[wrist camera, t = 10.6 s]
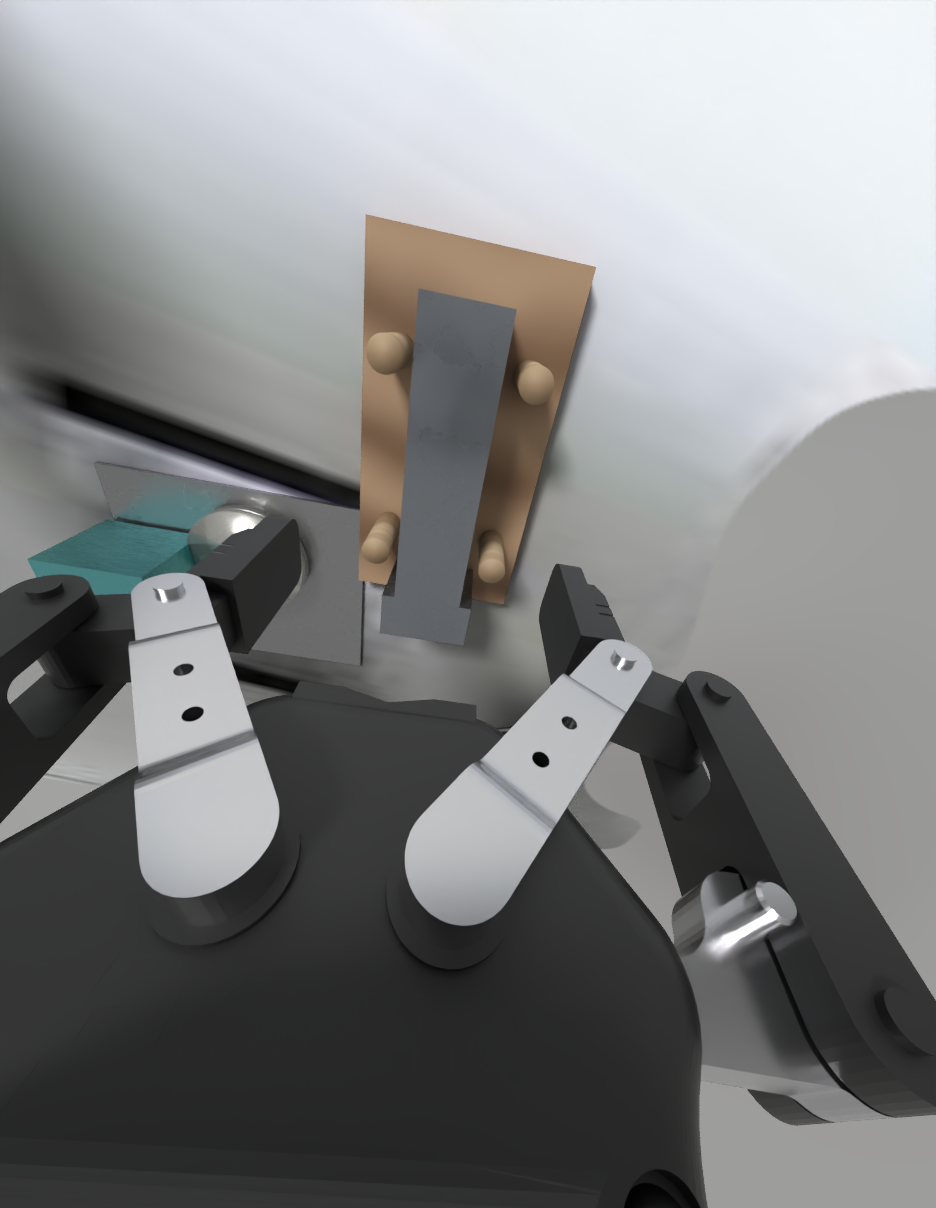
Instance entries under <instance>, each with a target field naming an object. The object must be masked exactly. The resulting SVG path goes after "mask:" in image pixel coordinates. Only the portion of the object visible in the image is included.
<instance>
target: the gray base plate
mask: <svg viewBox="0 0 936 1208" xmlns="http://www.w3.org/2000/svg"><path fill="white" fill-rule="evenodd" d="M94 465H95V468H96V470H97V473H98V476H99V479H100V482H101V484H102V487H103V490H104V493H105V496H106V499H107V501H108V504H109V507H110V510H111V513H112V515H113V518H114V521H118V522H124V523H130V524H136V525H142V526H147V527H153V528H159V529H165V530H171V531H177V532H183V533H189V531H190V530H191V528H192V526H193V525H194V524H195V523H196V522H197V521H198V520H200V519H201V518H203V517H204V516H206V515H207V514H209V513H210V512H212V511H213V510H215V509H217V508H220V507H223V506H227V505H246V506H251V507H255V508H258V509H261V510H263V511H265V512H267V513H270V514H271V515H273V516H278V517H284V518H290V519H295V520H296V521H297V524H298V528H299V540H300V542H301V544H302V545H303V547H304V550H305V552H306V555H307V558H308V565H309V570H308V577H307V579H306V582H305V584H304V585H303V587H302V588H301V590H300V591H299V593H298V594H297V595H296V597H295V598H294V599H293V600H292V601H291V602H290V603H288V604H287V605H285V606H283V607H281V608H280V609H279V611H278V612H277V613H276V615H275V616H274V618H273V619H272V620H271V622H270V623H269V625H268V626H267V627H266V629H265V630H264V632H263V633H262V634H261V636H260V637H259V639H258V640H257V641H256V643H255V644H254V646H253V647H252V648H251V649H252V650H259V651H265V652H272V653H279V654H285V655H292V656H298V657H305V658H312V659H318V660H325V661H331V662H338V663H345V664H351V665H358V666H360V665H361V646H362V610H363V581H360V580H359V533H360V508H354V507H349V506H343V505H337V504H332V503H326V502H321V501H315V500H309V499H304V498H298V497H293V496H287V495H281V494H276V493H270V492H265V491H259V490H253V489H248V488H242V487H237V486H231V485H225V484H220V483H214V482H209V481H203V480H197V479H192V478H186V477H181V476H175V475H169V474H164V473H158V472H153V471H147V470H141V469H136V468H130V467H125V466H119V465H113V464H108V463H102V462H95V463H94Z"/></svg>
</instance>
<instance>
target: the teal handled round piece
mask: <svg viewBox="0 0 936 1208" xmlns="http://www.w3.org/2000/svg"><path fill="white" fill-rule="evenodd" d="M268 515H271V514H270V513H267V512H265V511H263V510H261V509H258V508H255V507H251V506H246V505H227V506H223V507H220V508H217V509H215V510H213V511H212V512H210V513H209V514H207V515H206V516H204V517H203V518H201V519H200V520H198V521H197V522H196V523H195V524H194V525H193V526H192V528H191V530H190V531H189V533H183V532H177V531H171V530H165V529H159V528H153V527H147V526H142V525H136V524H130V523H124V522H118V521H112V520H105V521H103V522H101V523H99V524H97V525H95V526H93V527H91V528H89V529H87V530H85V531H83V532H81V533H79V534H77V535H75V536H73V537H71V538H69V539H67V540H65V541H63V542H61V543H59V544H57V545H55V546H53V547H51V548H49V549H47V550H45V551H43V552H41V553H39V554H37V555H35V556H33V557H31V558H29V559H27V560H28V562H29V564H30V565H31V567H32V569H33V571H34V573H35V575H36V577H42V576H48V575H58V574H66V575H75V576H80V577H82V578H84V579H86V580H87V581H88V582H89V584H90V586H91V588H92V591H93V593H94V595H107V594H131V592H132V590H133V589H134V587H135V586H136V585H138V584H139V583H141V582H142V581H144V580H146V579H148V578H151V577H154V576H158V575H162V574H168V573H186V572H188V571H189V570H190V569H191V568H192V567H194V566H195V565H196V564H197V563H198V562H200V561H201V560H202V559H203V558H204V557H206V556H207V555H208V554H209V553H210V552H212V553H213V550H214V549H215V548H216V547H218V546H219V545H221V543H222V542H223V541H225V540H226V539H227V538H228V537H229V536H231V535H232V534H234V533H237V532H239V531H242V530H244V529H247V528H251V529H252V528H254V527H255V526H256V525H257V524H258V523H259V522H260V521H261V520H263V519H264V518H265V517H266V516H268ZM272 516H273V515H272ZM300 551H301V563H302V570H301V576H300V579H299V582H298V584H297V585H296V587H295V588H294V590H293V591H292V592H291V594H290V595H289V597H288V598H287V599H286V601H285V602H284V604H283V605H282V606H281V607H283V606H285V605H287V604H288V603H290V602H291V601H292V600H293V599H294V598H295V597H296V595H297V594H298V593H299V591H300V590H301V588H302V587H303V585H304V584H305V582H306V579H307V577H308V570H309V565H308V558H307V555H306V552H305V550H304V547H303V545H302V544H301V542H300Z"/></svg>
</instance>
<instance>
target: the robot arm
mask: <svg viewBox="0 0 936 1208" xmlns="http://www.w3.org/2000/svg"><path fill="white" fill-rule="evenodd" d="M301 570H302V563H301V551H300V540H299V528H298V524H297V521H296V520H295V519H290V518H284V517H278V516H272V515H268V516H266V517H265V518H264V519H263V520H261V521H260V522H259V523H258V524H257V525H256V526H255V527H254V528H252V529H251V528H247V529H244V530H242V531H239V532H237V533H234V534H232V535H231V536H229V537H228V538H227V539H226V540H225V541H223V542H222V543H221V545H219V546H218V547H216V548H215V549H214V550H213V553H212V552H210V553H209V554H208V555H207V556H206V557H204V558H203V559H202V560H201V561H200V562H198V563H197V564H196V565H195V566H194V567H192V568H191V569H190V570H189V571H188V572H186V573H168V574H162V575H158V576H154V577H151V578H148V579H146V580H144V581H142V582H141V583H139V584H138V585H136V586H135V587H134V589H133V590H132V592H131V594H107V595H94V593H93V591H92V588H91V586H90V584H89V582H88V581H87V580H86V579H84V578H82V577H80V576H75V575H66V574H58V575H48V576H42V577H37V578H33V579H29V580H26V581H23V582H21V583H18V584H16V585H14V586H12V587H10V588H9V589H7V590H5V591H4V592H2V593H0V823H1V822H2V821H3V820H4V819H5V818H6V817H7V816H8V815H9V813H10V812H11V811H12V810H13V809H14V808H15V807H16V806H17V804H18V803H19V802H20V801H21V800H22V799H23V797H25V795H26V794H27V793H28V792H29V791H30V790H31V789H32V788H33V787H34V786H35V784H36V783H37V782H38V781H39V780H40V779H41V778H42V777H43V775H44V774H45V773H46V772H47V771H48V770H49V769H50V768H51V767H52V765H53V764H54V763H55V762H56V761H57V760H58V759H59V758H60V757H61V755H62V754H63V753H64V752H65V751H66V750H67V749H68V748H69V746H70V745H71V744H72V743H73V742H74V741H75V740H76V739H77V738H78V736H79V735H80V734H81V733H82V732H83V731H84V730H85V729H86V728H87V726H88V725H89V724H90V723H91V722H92V721H93V720H94V719H95V718H96V716H97V715H98V714H99V713H100V712H101V711H102V710H103V709H104V707H105V706H106V705H107V704H108V703H109V702H110V701H111V700H112V699H113V697H114V696H115V695H116V694H117V693H118V692H119V691H120V690H121V689H122V687H123V686H124V685H125V684H126V683H128V682H131V684H132V696H133V708H134V720H135V732H136V744H137V756H138V766H137V767H135V768H133V769H131V770H129V771H128V772H126V773H124V774H122V775H120V776H119V777H117V778H115V779H113V780H111V781H110V782H108V783H106V784H104V785H102V786H101V787H99V788H97V789H95V790H94V791H92V792H90V793H88V794H86V795H84V796H83V797H81V798H79V799H77V800H75V801H74V802H72V803H70V804H68V805H67V806H65V807H63V808H61V809H59V810H58V811H56V812H54V813H52V814H50V815H49V816H47V817H45V818H43V819H41V820H40V821H38V822H36V823H34V824H32V825H31V826H29V827H27V828H25V829H24V830H22V831H20V832H18V833H16V834H14V835H13V836H11V837H9V838H7V839H5V840H4V841H2V842H0V1208H708V1207H707V1201H706V1193H705V1185H704V1177H703V1169H702V1161H701V1146H700V1131H699V1095H700V1082H701V1081H705V1082H711V1083H717V1084H722V1085H729V1086H734V1087H740V1088H746V1089H748V1091H749V1092H750V1093H751V1095H752V1096H753V1097H754V1098H755V1100H756V1101H757V1102H758V1103H759V1104H760V1105H761V1106H762V1107H763V1108H764V1109H765V1110H766V1111H767V1112H769V1113H770V1114H771V1115H772V1116H774V1117H775V1118H777V1119H779V1120H780V1121H782V1122H785V1123H787V1124H791V1125H809V1124H822V1123H834V1122H848V1121H861V1120H873V1119H886V1118H897V1117H912V1116H924V1115H936V1001H935V999H934V997H933V996H932V994H931V993H930V991H929V989H928V988H927V986H926V985H925V983H924V981H923V980H922V978H921V977H920V975H919V973H918V972H917V970H916V969H915V967H914V966H913V964H912V962H911V961H910V959H909V958H908V956H907V954H906V953H905V951H904V950H903V948H902V946H901V945H900V943H899V942H898V940H897V939H896V937H895V935H894V934H893V932H892V931H891V929H890V927H889V926H888V924H887V923H886V921H885V919H884V918H883V916H882V915H881V913H880V912H879V910H878V909H877V907H876V906H875V904H874V902H873V901H872V899H871V897H870V896H869V894H868V892H867V891H866V889H865V888H864V886H863V885H862V883H861V881H860V880H859V878H858V877H857V875H856V873H855V872H854V870H853V869H852V867H851V865H850V864H849V862H848V861H847V859H846V858H845V856H844V854H843V853H842V851H841V850H840V848H839V847H838V845H837V843H836V842H835V840H834V839H833V837H832V835H831V834H830V832H829V831H828V829H827V827H826V826H825V824H824V823H823V821H822V820H821V818H820V816H819V815H818V813H817V811H815V808H814V807H813V805H812V804H811V802H810V800H809V799H808V797H807V796H806V794H805V792H804V791H803V789H802V788H801V786H800V785H799V783H798V781H797V780H796V778H795V777H794V775H793V774H792V772H791V770H790V769H789V767H788V765H787V764H786V762H785V761H784V759H783V758H782V756H781V754H780V753H779V751H778V750H777V748H776V746H775V745H774V743H773V742H772V740H771V738H770V737H769V735H768V734H767V732H766V731H765V729H764V727H763V726H762V724H761V723H760V721H759V719H758V718H757V716H756V715H755V713H754V711H753V710H752V708H751V707H750V705H749V703H748V702H747V701H746V699H745V697H744V696H743V695H742V693H741V692H740V691H739V690H738V689H737V688H736V687H735V686H733V685H732V684H731V683H729V682H728V681H726V680H725V679H723V678H721V677H719V676H717V675H714V674H712V673H708V672H703V671H695V672H691V673H690V674H688V676H687V677H686V679H685V680H684V682H680V681H677V680H675V679H672V678H669V677H667V676H664V675H661V674H659V673H656V672H654V671H652V664H651V662H650V660H649V659H648V657H647V656H646V655H645V654H644V653H643V652H642V651H641V650H639V649H638V648H636V647H635V646H633V645H631V644H629V643H626V642H625V641H624V638H623V636H622V634H621V632H620V629H619V627H618V625H617V623H616V620H615V618H614V617H613V614H612V611H611V609H610V608H609V605H608V602H607V600H606V598H605V596H604V595H603V594H602V593H601V592H600V591H599V590H598V589H597V588H596V587H595V586H594V585H589V584H587V582H586V579H585V577H584V574H583V572H582V569H581V568H580V567H574V566H568V565H562V564H556V565H555V567H554V569H553V571H552V574H551V577H550V580H549V583H548V586H547V589H546V592H545V595H544V598H543V601H542V604H541V607H540V614H539V623H540V629H541V634H542V640H543V645H544V650H545V656H546V661H547V667H548V672H549V677H550V683H551V686H550V687H549V689H548V690H547V691H546V692H545V693H544V694H543V695H542V696H541V697H540V698H539V699H538V700H537V701H536V702H535V703H534V704H533V706H532V707H531V708H530V709H529V710H528V711H527V712H526V713H525V714H524V715H523V716H522V717H521V718H520V719H519V720H518V721H517V723H516V724H515V725H514V726H513V727H512V728H511V729H510V730H509V731H508V732H507V733H506V734H505V735H504V734H503V733H502V732H501V731H499V730H497V729H496V728H494V727H493V726H491V725H489V724H487V723H485V722H483V721H480V720H478V719H476V705H470V704H463V703H456V702H449V701H442V700H434V699H433V700H419V701H404V702H384V701H381V700H378V699H376V698H373V697H370V696H368V695H365V694H362V693H359V692H357V691H354V690H351V689H348V688H346V687H341V686H334V685H326V684H319V683H312V682H305V681H300V682H299V684H298V686H297V687H296V689H295V691H294V693H293V694H290V695H282V696H276V697H272V698H268V699H264V700H261V701H258V702H255V703H252V704H250V705H248V706H246V704H245V701H244V698H243V695H242V692H241V689H240V686H239V683H238V680H237V677H236V674H235V671H234V668H233V665H232V661H231V658H230V655H229V652H235V653H242V654H248V653H249V651H250V650H251V648H252V647H253V646H254V644H255V643H256V641H257V640H258V639H259V637H260V636H261V634H262V633H263V632H264V630H265V629H266V627H267V626H268V625H269V623H270V622H271V620H272V619H273V618H274V616H275V615H276V613H277V612H278V611H279V609H280V608H281V606H282V605H283V604H284V602H285V601H286V599H287V598H288V597H289V595H290V594H291V592H292V591H293V590H294V588H295V587H296V585H297V584H298V582H299V579H300V576H301ZM36 660H38V662H39V663H40V665H41V666H42V668H43V670H44V671H45V674H44V675H43V676H42V677H41V678H40V679H38V680H37V681H36V682H35V683H34V684H33V685H32V686H30V687H29V688H28V689H27V690H26V691H25V692H24V693H22V694H21V695H20V696H19V697H18V698H17V699H15V700H14V701H13V702H12V703H11V704H9V702H8V700H7V692H8V688H9V686H10V684H11V682H12V681H13V680H14V679H15V678H16V677H17V676H18V675H19V674H20V673H21V672H23V671H24V670H25V669H26V668H27V667H29V666H30V665H31V664H32V663H34V662H35V661H36ZM609 741H611V742H613V743H616V744H618V745H621V746H623V747H625V748H628V749H630V750H633V751H635V752H637V753H640V757H641V761H642V764H643V767H644V771H645V774H646V778H647V781H648V784H649V788H650V791H651V794H652V798H653V801H654V804H655V808H656V811H657V814H658V818H659V821H660V824H661V828H662V831H663V834H664V838H665V841H666V845H667V848H668V851H669V855H670V858H671V861H672V865H673V868H674V871H675V875H676V878H677V881H678V885H679V888H680V891H681V895H682V897H681V898H680V899H679V900H678V901H677V902H676V904H675V905H674V908H673V912H672V928H673V934H674V944H673V943H672V941H671V939H670V938H669V936H668V935H667V933H666V931H665V930H664V929H663V927H662V926H661V924H660V923H659V922H658V920H657V919H656V918H655V916H654V915H653V914H652V913H651V912H650V910H649V909H648V908H647V907H646V905H645V904H644V903H643V901H642V900H641V899H640V898H639V897H638V895H637V894H636V893H635V892H634V891H633V889H632V888H631V887H630V885H629V884H628V883H627V882H626V880H625V879H624V878H623V877H622V875H621V874H620V873H619V872H618V870H617V869H616V868H615V867H614V865H613V864H612V863H611V862H610V861H609V859H608V858H607V857H606V856H605V854H604V853H603V852H602V851H601V849H600V848H599V847H598V846H597V844H596V843H595V842H594V841H593V839H592V838H591V837H590V836H589V834H588V833H587V832H586V831H585V829H584V828H583V827H582V826H581V825H580V823H579V822H578V821H577V820H576V818H575V817H574V816H573V815H572V813H571V812H570V811H569V810H568V807H569V805H570V804H571V802H572V800H573V799H574V797H575V795H576V794H577V792H578V791H579V789H580V787H581V786H582V784H583V783H584V781H585V779H586V778H587V776H588V775H589V773H590V771H591V770H592V768H593V766H594V765H595V763H596V762H597V760H598V758H599V757H600V755H601V754H602V752H603V750H604V749H605V747H606V746H607V744H608V742H609ZM703 761H705V763H706V766H707V768H708V770H709V773H710V780H709V778H708V776H707V773H706V771H705V769H704V767H703V764H702V762H703ZM710 781H711V783H710Z"/></svg>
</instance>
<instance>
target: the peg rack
mask: <svg viewBox="0 0 936 1208" xmlns="http://www.w3.org/2000/svg"><path fill="white" fill-rule="evenodd" d="M595 270H596V267H593V266H589V265H585V264H580V263H576V262H572V261H567V260H563V259H558V258H554V257H550V256H545V255H541V254H537V253H532V252H528V251H523V250H519V249H515V248H510V247H506V246H502V245H497V244H493V243H489V242H484V241H480V240H475V239H471V238H467V237H462V236H458V235H454V234H449V233H445V232H440V231H436V230H432V229H427V228H423V227H419V226H414V225H410V224H406V223H401V222H397V221H392V220H388V219H384V218H379V217H375V216H371V215H366V238H365V287H364V336H363V385H362V435H361V484H360V533H359V580H360V581H366V582H372V583H378V584H384V585H386V584H387V582H388V579H389V577H390V574H391V571H392V569H393V566H394V564H395V561H396V559H397V557H398V546H399V533H400V520H401V507H402V494H403V481H404V469H405V456H406V443H407V430H408V417H409V404H410V392H411V379H412V366H413V353H414V340H415V327H416V314H417V302H418V289H419V288H420V289H424V290H429V291H434V292H438V293H443V294H448V295H453V296H457V297H462V298H467V299H471V300H476V301H481V302H485V303H490V304H495V305H500V306H504V307H509V308H514V309H517V312H516V317H515V322H514V327H513V332H512V337H511V343H510V348H509V353H508V358H507V363H506V368H505V373H504V379H503V384H502V389H501V394H500V399H499V404H498V410H497V415H496V420H495V425H494V430H493V435H492V441H491V446H490V451H489V456H488V461H487V466H486V472H485V477H484V482H483V487H482V492H481V497H480V503H479V508H478V513H477V518H476V523H475V528H474V534H473V539H472V544H471V549H470V554H469V559H468V565H467V569H473V583H472V599H474V600H480V601H486V602H492V603H498V604H503V603H504V600H505V596H506V592H507V589H508V585H509V582H510V578H511V574H512V571H513V567H514V563H515V560H516V556H517V553H518V549H519V545H520V542H521V538H522V534H523V531H524V527H525V524H526V520H527V516H528V513H529V509H530V505H531V502H532V498H533V495H534V491H535V487H536V484H537V480H538V476H539V473H540V469H541V465H542V462H543V458H544V455H545V451H546V447H547V444H548V440H549V436H550V433H551V429H552V426H553V422H554V418H555V415H556V411H557V407H558V404H559V400H560V397H561V393H562V389H563V386H564V382H565V378H566V375H567V371H568V368H569V364H570V360H571V357H572V353H573V349H574V346H575V342H576V338H577V335H578V331H579V328H580V324H581V320H582V317H583V313H584V309H585V306H586V302H587V299H588V295H589V291H590V288H591V284H592V280H593V277H594V273H595Z"/></svg>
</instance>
